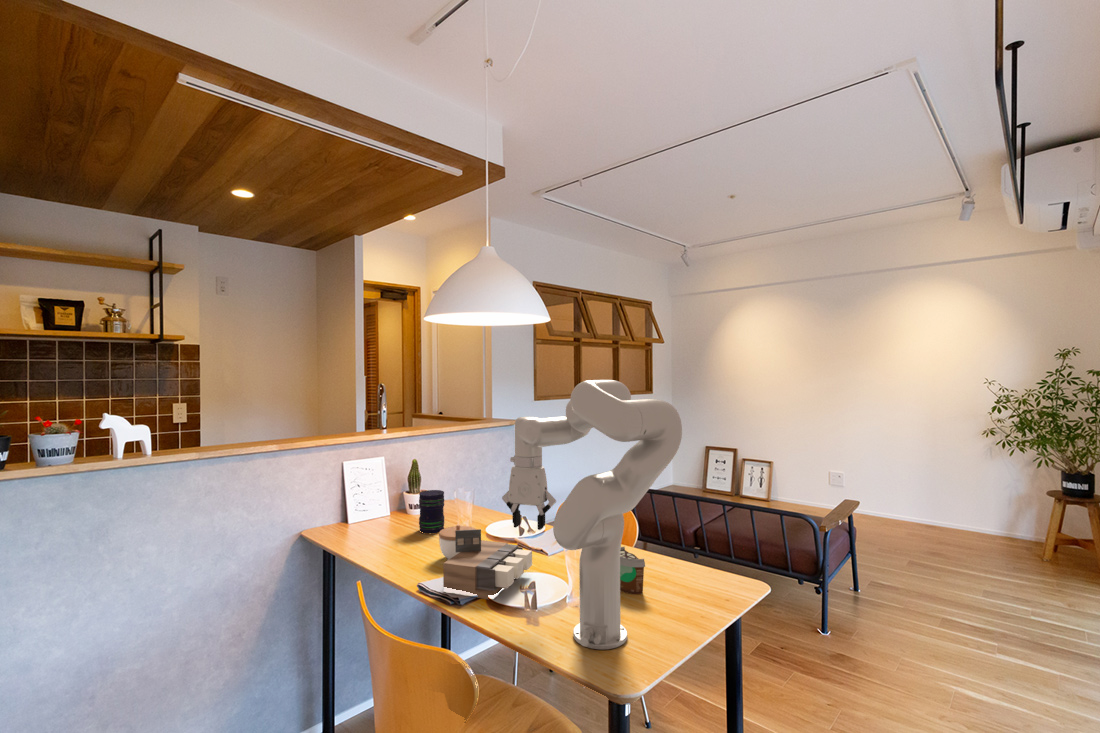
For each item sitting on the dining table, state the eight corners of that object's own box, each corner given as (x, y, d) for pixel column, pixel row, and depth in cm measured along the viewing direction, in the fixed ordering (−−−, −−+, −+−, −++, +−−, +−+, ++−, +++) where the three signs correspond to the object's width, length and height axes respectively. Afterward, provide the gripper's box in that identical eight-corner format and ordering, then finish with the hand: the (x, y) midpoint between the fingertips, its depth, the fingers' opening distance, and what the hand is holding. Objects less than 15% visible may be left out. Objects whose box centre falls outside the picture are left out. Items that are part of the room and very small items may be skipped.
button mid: (517, 578, 150) (517, 563, 150) (501, 576, 152) (501, 561, 152) (523, 573, 154) (523, 558, 154) (507, 571, 156) (507, 556, 156)
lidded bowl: (432, 557, 176) (432, 524, 177) (464, 549, 185) (464, 518, 185) (450, 568, 167) (450, 533, 167) (484, 559, 175) (484, 525, 175)
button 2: (526, 570, 156) (526, 555, 157) (511, 568, 158) (511, 553, 158) (532, 565, 161) (532, 550, 161) (517, 563, 162) (517, 549, 162)
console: (493, 600, 143) (492, 545, 143) (438, 591, 148) (438, 539, 149) (523, 571, 163) (523, 524, 164) (475, 565, 169) (475, 519, 169)
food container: (605, 582, 154) (605, 548, 155) (623, 579, 157) (623, 545, 157) (625, 599, 143) (625, 562, 143) (645, 595, 145) (645, 559, 145)
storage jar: (415, 534, 203) (415, 495, 203) (422, 526, 213) (422, 489, 213) (441, 534, 203) (441, 495, 203) (447, 526, 213) (447, 489, 213)
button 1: (507, 588, 143) (507, 572, 143) (490, 585, 145) (490, 569, 145) (513, 582, 147) (513, 566, 147) (497, 579, 149) (497, 564, 149)
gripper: (494, 462, 143) (494, 528, 143) (553, 465, 138) (554, 534, 137) (505, 458, 151) (505, 521, 150) (562, 461, 145) (563, 526, 144)
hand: (528, 526), depth 144 cm, fingers open, 6 cm apart
